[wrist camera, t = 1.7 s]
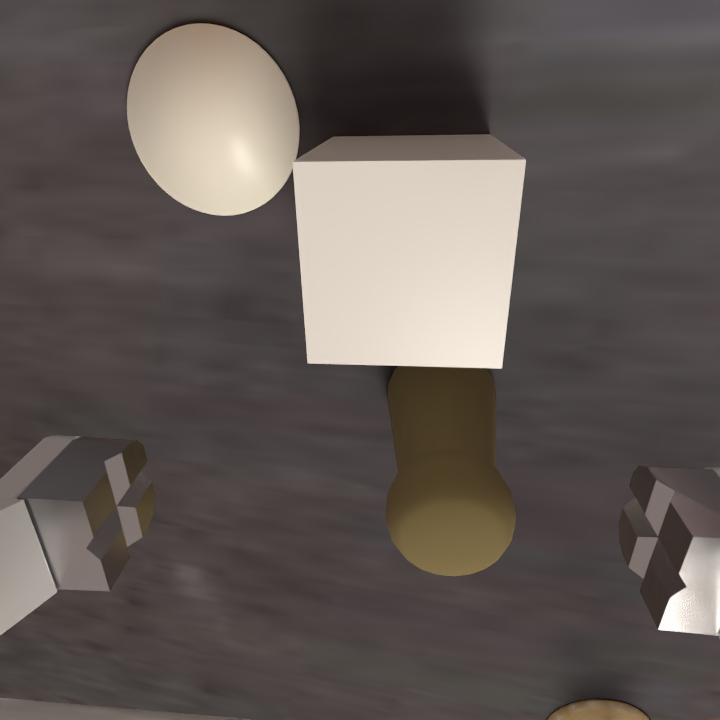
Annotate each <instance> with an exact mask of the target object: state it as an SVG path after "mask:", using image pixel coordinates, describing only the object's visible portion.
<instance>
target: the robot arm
mask: <svg viewBox="0 0 720 720" xmlns="http://www.w3.org/2000/svg"><path fill="white" fill-rule="evenodd" d="M146 463H147V457H146V454H145V450H144V446H143V445H142V444H141V443H139V442H138V441H137V440H123V439H109V438H95V437H77V436H60V435H53V436H49V437H45V438H44V439H43V440H42V441H41V442H40V443H39V444H38V445H36V446H35V447H34V448H33V449H32V450H31V451H30V452H29V453H28V454H27V455H26V456H25V457H24V458H23V459H21V460H20V461H19V462H18V463H17V464H16V465H15V466H14V467H13V468H12V469H11V470H10V471H9V472H8V473H7V474H5V475H4V476H3V477H2V478H1V479H0V635H1V634H3V633H4V632H5V631H7V630H8V629H9V628H11V627H12V626H13V625H15V624H16V623H17V622H18V621H20V620H21V619H22V618H24V617H25V616H26V615H28V614H29V613H30V612H32V611H33V610H34V609H36V608H37V607H38V606H39V605H41V604H42V603H43V602H45V601H46V600H47V599H49V598H50V597H51V596H53V595H54V594H55V593H57V589H69V590H94V591H110V590H111V588H112V587H113V585H114V583H115V582H116V580H117V578H118V577H119V575H120V573H121V572H122V570H123V568H124V567H125V565H126V564H127V562H128V560H129V559H130V556H129V552H128V548H127V547H128V546H129V545H131V544H132V543H134V542H135V541H137V540H138V539H140V538H142V537H143V535H144V533H145V532H146V530H147V528H148V526H149V525H150V522H151V518H152V514H153V510H154V498H155V493H154V488H153V484H152V481H151V480H150V479H149V478H148V477H147V476H146V475H145V474H144V473H143V472H142V471H141V470H142V469H143V467H144V466H145V464H146ZM629 486H630V488H631V490H632V492H633V494H634V495H635V498H634V499H633V500H632V501H630V502H629V503H628V504H627V505H625V506H624V507H623V509H622V513H621V517H620V521H619V541H620V545H621V549H622V553H623V556H624V558H625V560H626V563H627V565H628V567H629V568H630V569H632V570H633V571H634V572H635V573H637V574H638V575H639V576H640V577H642V578H643V582H642V586H641V589H640V593H641V595H642V597H643V599H644V601H645V603H646V605H647V607H648V610H649V612H650V614H651V616H652V618H653V620H654V622H655V624H656V626H657V628H658V630H668V631H678V632H688V633H699V634H709V635H719V636H720V468H712V467H706V468H684V467H661V466H638V467H637V469H636V470H635V471H634V473H633V475H632V478H631V482H630V485H629ZM719 639H720V637H719ZM0 720H251V719H240V718H228V717H217V716H205V715H194V714H182V713H171V712H159V711H148V710H136V709H125V708H113V707H101V706H90V705H78V704H67V703H55V702H43V701H32V700H20V699H9V698H0Z"/></svg>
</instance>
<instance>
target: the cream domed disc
mask: <svg viewBox="0 0 720 720" xmlns="http://www.w3.org/2000/svg"><path fill="white" fill-rule="evenodd" d="M127 118H128V125H129V130H130V134H131V138H132V141H133V144H134V146H135V149H136V152H137V154H138V156H139V158H140V160H141V162H142V163H143V165H144V167H145V168H146V170H147V171H148V173H149V174H150V175H151V177H152V178H153V179H154V180H155V182H156V183H157V184H158V185H159V186H160V187H161V188H162V189H163V190H164V191H165V192H167V193H168V194H169V195H170V196H172V197H173V198H174V199H176V200H177V201H179V202H180V203H182V204H184V205H186V206H188V207H190V208H192V209H194V210H197V211H200V212H203V213H207V214H212V215H223V216H227V215H237V214H242V213H246V212H249V211H251V210H254V209H256V208H258V207H260V206H261V205H263V204H265V203H266V202H267V201H269V200H270V199H271V198H273V197H274V196H275V195H276V194H277V193H278V192H279V191H280V189H281V188H282V187H283V185H284V184H285V183H286V181H287V179H288V178H289V176H290V174H291V172H292V170H293V161H295V160H296V158H297V154H298V150H299V141H300V123H299V115H298V110H297V106H296V102H295V98H294V95H293V93H292V90H291V87H290V85H289V83H288V81H287V79H286V78H285V76H284V74H283V72H282V71H281V69H280V68H279V66H278V65H277V64H276V62H275V61H274V60H273V59H272V58H271V56H270V55H269V54H268V53H267V52H266V51H265V50H264V49H263V48H261V47H260V46H259V45H258V44H257V43H255V42H254V41H252V40H251V39H250V38H248V37H247V36H245V35H243V34H241V33H239V32H237V31H235V30H232V29H229V28H226V27H224V26H219V25H214V24H203V23H197V24H188V25H184V26H180V27H177V28H174V29H172V30H170V31H168V32H166V33H164V34H163V35H161V36H160V37H159V38H157V39H156V40H155V41H154V42H153V43H152V44H151V45H150V46H148V47H147V49H146V50H145V51H144V53H143V54H142V55H141V57H140V59H139V60H138V62H137V64H136V66H135V68H134V71H133V74H132V76H131V79H130V84H129V88H128V95H127Z"/></svg>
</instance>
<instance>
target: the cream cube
mask: <svg viewBox="0 0 720 720" xmlns="http://www.w3.org/2000/svg"><path fill="white" fill-rule="evenodd" d="M525 164H526V159H525V158H523V157H522V156H520V155H519V154H517V153H516V152H515V151H513V150H512V149H510V148H509V147H508V146H506V145H505V144H503V143H502V142H500V141H499V140H498V139H496V138H495V137H493V136H492V135H491V134H475V135H406V136H337V137H332V138H330V139H328V140H327V141H325V142H324V143H322V144H320V145H319V146H317V147H316V148H314V149H312V150H311V151H309V152H308V153H306V154H304V155H303V156H301V157H300V158H298V159H296V160H295V161H293V175H294V188H295V202H296V215H297V228H298V241H299V255H300V268H301V281H302V294H303V308H304V321H305V334H306V347H307V361H308V363H314V364H351V365H388V366H424V367H461V368H498V369H502V362H503V354H504V345H505V336H506V328H507V319H508V311H509V302H510V293H511V285H512V276H513V268H514V259H515V250H516V242H517V233H518V225H519V216H520V207H521V199H522V190H523V182H524V173H525Z"/></svg>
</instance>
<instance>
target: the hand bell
mask: <svg viewBox="0 0 720 720" xmlns="http://www.w3.org/2000/svg"><path fill="white" fill-rule="evenodd" d="M547 720H649V718H648V717H647V716H646V715H645V714H644V713H643V712H642V711H640V710H639V709H637V708H635V707H633V706H631V705H628V704H626V703H623V702H619V701H613V700H601V699H592V700H582V701H578V702H574V703H571V704H568V705H565V706H563V707H561V708H559V709H558V710H556V711H555V712H553V713H552V714H551V715H550V716H549V717H548V719H547Z"/></svg>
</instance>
